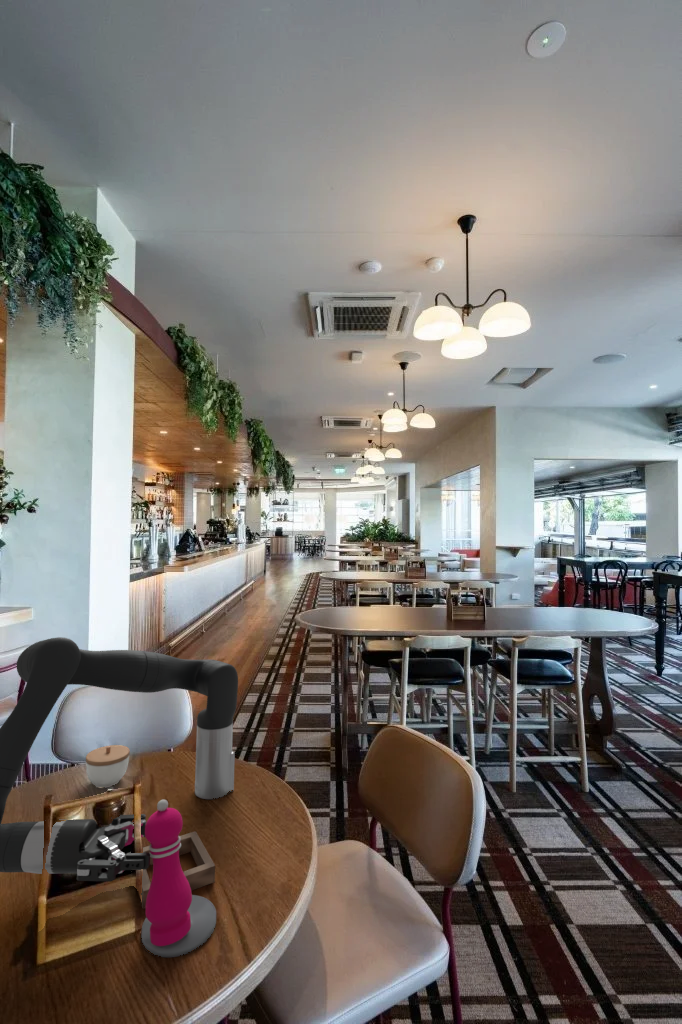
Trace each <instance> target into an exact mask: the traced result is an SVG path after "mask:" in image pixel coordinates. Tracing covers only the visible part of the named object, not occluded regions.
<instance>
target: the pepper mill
mask: <svg viewBox="0 0 682 1024" xmlns="http://www.w3.org/2000/svg"><path fill="white" fill-rule="evenodd" d="M156 808H157V810H156V811H155V812H153V813H152V814H151V815H150V816H149V817H148V818H147V820H146V822H147V823H146V826H145V837H144V838H145V840H146V841H148V842H149V843H150V845H148V846H149V850H150V857H152V859H153V864H152V865H153V866H152V876H151V880H150V883H151V885H150V888H149V891H148V895H147V899H146V908H145V918H146V917H147V919H148V920H149V921H150V922H151V923H152V924H151V926H150V940H151V943H152V944H153V945H156V946H166V945H170V944H172V943H175V942H177V941H178V940H180V939H182V938H183V937H184V936H185V935H186V934H187V933H188V932H189V930H190V927H191V919H190V913H189V912H188V909H189V907H190V905H191V902H192V895H193V894H192V891H191V888H190V885H189V882H188V880H187V878H186V877H185V875H184V873H183V872H184V871H183V869H182V865H181V862H180V860H181V859H180V855H179V849H180V847H181V843H180V840H181V838H180V836H181V835H180V834H181V832H182V830H183V825H184V823H183V822H184V821H183V816H182V814H181V813H180V812H179V810H178V809H176V808H174V807H169V802H168V800H167V799H161V800H159V801H158V802H157V804H156Z"/></svg>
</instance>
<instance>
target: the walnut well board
mask: <svg viewBox="0 0 682 1024" xmlns="http://www.w3.org/2000/svg"><path fill="white" fill-rule="evenodd" d="M179 836H180V838H181V840H180V843H181V847H180V849H179V856H182V855H185V854H187V853H190V854H191V856H192V858H193V861H194V863H195V864H196V867H192V868H189V869H188V870H187V869H186V870H184V871H183V873H184V875H185V877H186V878H187V880H188V882H189V885H190V888H191V892H192V891H194V890H197V889H200V888H202V887H205V886H207V885H211V884H213V883H215V882H216V880H215V879H216V864H215V863H214V860H213V859H212V858H211V856H210V854H209V852H208V850H207V849H206V847H205V845H204V843H203V842H202V840H201V838H200V836H199V834H198V833H197V831H191V832H189V833H186V834H183V835H179ZM149 846H150V845H147V846H144V847H142V848H143V853H144V852H148V853H150V850H149ZM152 865H153V859H152V857H150V865H149V866H152ZM150 885H151V880H150V876H149V874H148V871H147V869H143V876H142V893H141V895H142V905H141V907H142V909H143V910H144V909H146V899H147V895H148V891H149V888H150Z"/></svg>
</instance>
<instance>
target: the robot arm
mask: <svg viewBox="0 0 682 1024" xmlns="http://www.w3.org/2000/svg"><path fill="white" fill-rule="evenodd" d="M16 671H17V674H18V676H19V677H20V678H21V680H22V681H24V682H25V683H26V685H25V687H24V689H23V692H22V693H21V695H20V697H19V700H18V701H17V703H16V705H15V706H14V708H13V710H12V711H11V713H10V714H9V715H8V717H7V719H6V720H5V721H4V723H3V724H2V725H1V727H0V873H31V874H41V875H42V869H43V848H44V820H43V821H18V822H10V823H9V822H8V823H2V821H3V817H4V814H5V809H6V806H7V805H6V804H7V799H8V797H9V795H10V793H11V791H12V789H13V787H14V785H15V782H16V781H17V778H18V776H19V774H20V772H21V769H22V768H23V766H24V763H25V761H26V759H27V756H28V754H29V753H30V750H31V749H32V746H33V745H34V742H35V741H36V739H37V737H38V734H39V733H40V731H41V729H42V727H43V725H44V724H45V722H46V720H47V718H48V717H49V714H50V713H51V711H52V709H54V706H55V705H56V704H57V701H58V700H59V698H60V697H61V695H62V694H63V692H64V691H65V689H66V687H67V686H69V685H70V686H71V685H77V686H79V685H81V686H89V687H95V688H101V689H108V690H115V691H124V692H131V693H132V692H133V693H144V694H146V693H147V694H149V693H158V692H164V691H167V690H173V689H174V690H175V689H178V690H185V691H191V692H195V693H198V694H201V695H204V696H206V697H207V699H206V700H207V701H206V708H203V710H200V711H199V712H198V714H197V717H196V743H195V744H196V745H195V746H196V747H195V769H194V770H195V771H194V772H195V779H194V780H195V781H194V794H195V796H196V797H198V798H200V799H203V800H204V799H205V800H215V798H216V799H218V798H219V797H220V798H223V797H225V796H226V795H228V794H229V793H230V792H232V791H231V790H233V791H234V790H235V762H236V761H235V756H236V755H235V754H236V753H235V752H234V751H233V733H234V732H233V728H234V716H235V713H236V710H237V704H238V691H239V690H238V689H239V676H238V671H237V669H236V667H235V666H233V665H232V664H230V663H227V662H224V661H220V660H217V659H187V658H186V659H183V658H178V657H175V656H171V655H168V654H165V653H159V652H154V651H153V652H152V651H145V650H140V649H139V650H137V649H134V650H133V649H112V650H111V649H110V650H87V649H81V648H80V647H79V645H78V644H77V643H76V642H75V641H73V640H72V639H71V638H67V637H59V636H58V637H52V638H48V639H47V638H46V639H43V640H40V641H36V642H34V643H33V644H31V645H29V646H28V647H26V648H25V649H24V650H23V651H22V652H20V655H19V656H18V658H17V661H16ZM229 791H230V792H229ZM228 792H229V793H228ZM227 793H228V794H227ZM224 795H225V796H224ZM213 798H214V799H213ZM220 798H219V799H220ZM140 814H141V838H143V837H144V838H146V837H145V826H146V823H147V820H146V817H147V815H146V814H145V813H140ZM119 815H120V816H119V817H117V818H115V819H113V821H112V823H111V822H110V824H109V825H105V826H102V827H101V826H99V825H98V823H97V821H96V820H95V819H93V818H90V819H89V818H87V819H86V818H82V819H79V818H77V819H76V818H75V819H74V818H73V820H67V819H65V820H66V821H61V822H56V823H55V824H54V825H53V827H52V833H51V838H50V843H49V846H48V852H47V855H46V863H45V869H46V870H47V872H48V873H49V875H50V874H76V880H77V881H78V882H79V881H80V882H113V881H115V880H116V877H117V876H116V875H118V874H123V872H124V871H131V870H141V869H146V870H148V869H149V867H150V866H151V865H150V853H148V852H144V853H131V852H126V853H125V852H123V851H122V850H123V849H124V847H127V846H129V845H131V844H132V843H133V841H135V840H134V833H133V829H134V824H133V823H134V822H133V819H134V814H119ZM102 869H106V870H107V872H103V871H102Z"/></svg>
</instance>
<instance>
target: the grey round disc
mask: <svg viewBox="0 0 682 1024" xmlns="http://www.w3.org/2000/svg"><path fill="white" fill-rule="evenodd" d="M188 912H189V913H190V919H191V927H190V930H189V932H188V933H187V934H186V935H185V936H184V937H183V938H182V939H180V940H178V941H177V942H175V943H172V944H170V945H166V946H156V945H153V944H152V943H151V940H150V926H151V924H152V923H151V922H150V921H149V920H148V919H147V917H146V916H145V919H144V921H143V922H142V927H141V936H140V937H141V938H142V939H141V943H143V944H142V946H143V945H144V946H145V948H146V949H147V950H149V951H150V952H151V953H153V954H154V956H155V955H158V956H157V957H159V956H161V957H160V958H175V957H181V956H183V954H184V955H186V954H187V955H188V954H189V953H188V952H190V953H192V952H193V951H192V950H194V949H195V950H197V949H198V948H200V947H201V946H202V945H204V944H205V943H206V942H207V941H208V940H209V939H208V938H210V937H212V935H213V933H214V931H215V929H214V928H216V925H217V909H216V907H215V905H214V904H213V902H212V901H211V900H209V898H206V897H203V896H201V895H196V894H192V902H191V905H190V907H189V909H188ZM211 934H212V935H211ZM207 939H208V940H207ZM203 943H204V944H203ZM200 945H201V946H200ZM144 946H143V947H144ZM199 946H200V947H199ZM197 947H198V948H197ZM145 948H144V949H145ZM196 948H197V949H196ZM146 949H145V950H146ZM147 950H146V951H147ZM195 950H194V951H195ZM191 951H192V952H191ZM150 952H149V953H150ZM151 953H150V954H151ZM153 954H152V955H153ZM180 955H181V956H180Z"/></svg>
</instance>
